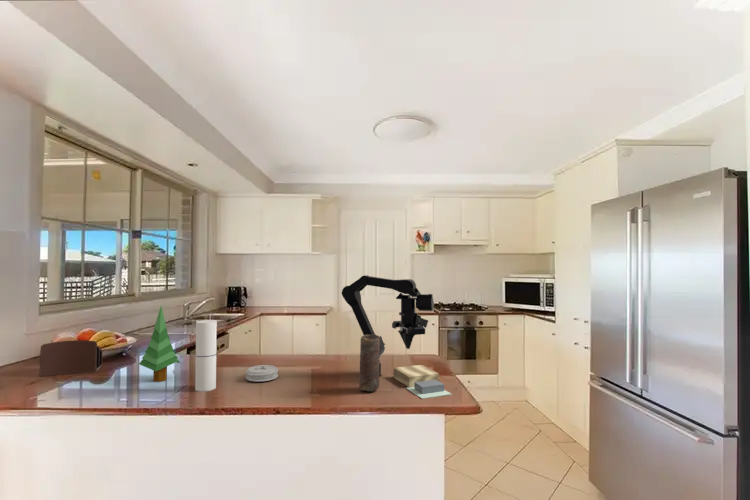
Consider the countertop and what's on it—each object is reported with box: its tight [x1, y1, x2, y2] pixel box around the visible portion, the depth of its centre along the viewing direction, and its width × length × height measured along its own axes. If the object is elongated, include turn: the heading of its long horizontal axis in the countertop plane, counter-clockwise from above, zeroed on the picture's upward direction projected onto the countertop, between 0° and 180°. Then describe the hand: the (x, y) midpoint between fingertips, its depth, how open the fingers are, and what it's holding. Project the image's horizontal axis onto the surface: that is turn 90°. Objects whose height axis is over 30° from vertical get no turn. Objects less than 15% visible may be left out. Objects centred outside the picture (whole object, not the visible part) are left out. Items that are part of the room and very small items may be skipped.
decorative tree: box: [138, 305, 182, 383], centre depth 161 cm, size 14×16×30 cm
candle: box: [358, 334, 381, 393], centre depth 149 cm, size 8×7×20 cm
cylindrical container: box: [194, 319, 218, 393], centre depth 151 cm, size 7×7×25 cm
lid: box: [245, 364, 279, 382], centre depth 163 cm, size 13×13×5 cm
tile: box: [415, 380, 445, 394], centre depth 148 cm, size 9×6×2 cm, turn 112°
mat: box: [406, 387, 452, 400], centre depth 147 cm, size 12×12×1 cm
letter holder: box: [39, 339, 103, 378], centre depth 173 cm, size 10×20×14 cm, turn 111°
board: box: [393, 364, 440, 388], centre depth 160 cm, size 13×14×4 cm
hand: (408, 348), depth 164 cm, fingers closed
